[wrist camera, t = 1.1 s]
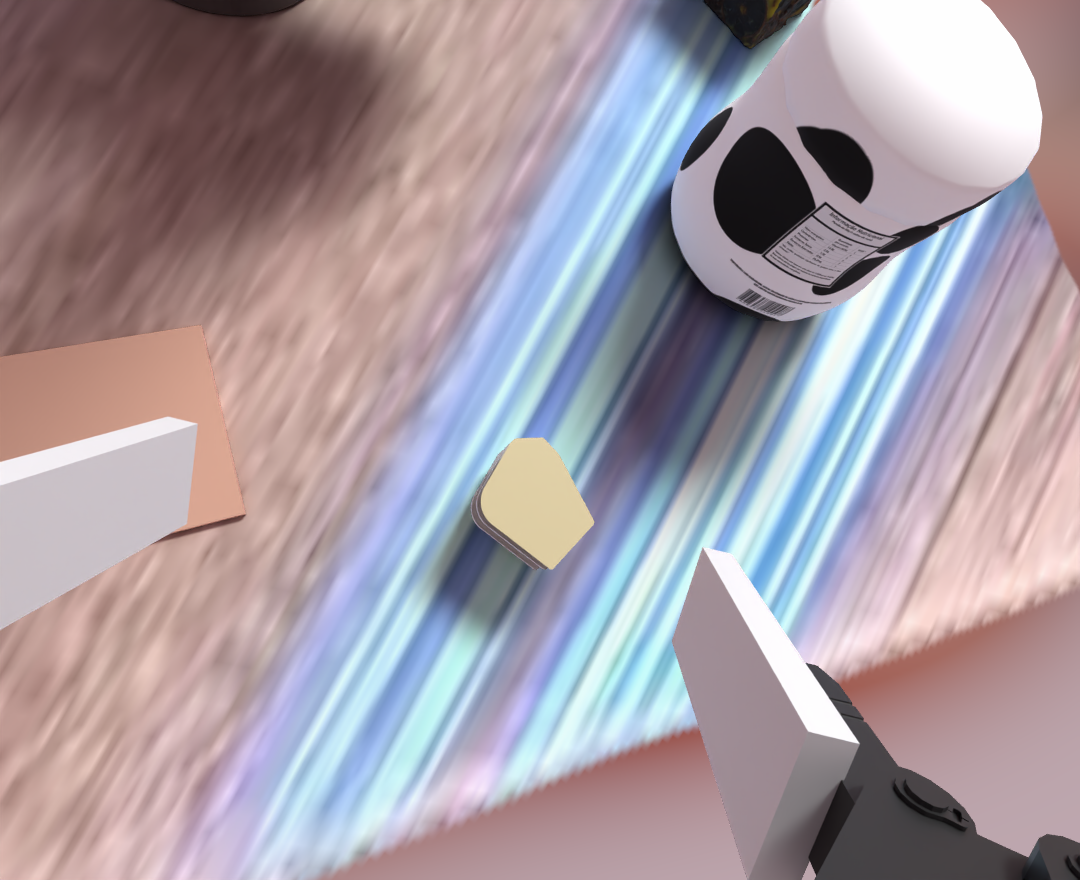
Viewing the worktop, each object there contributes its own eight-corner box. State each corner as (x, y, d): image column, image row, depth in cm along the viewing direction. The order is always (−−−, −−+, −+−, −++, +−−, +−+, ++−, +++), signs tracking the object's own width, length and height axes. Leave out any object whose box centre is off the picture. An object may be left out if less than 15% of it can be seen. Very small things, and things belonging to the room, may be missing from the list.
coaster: (-38, 365, 32) (-42, 363, 32) (202, 327, 36) (200, 324, 36) (0, 578, 31) (-5, 578, 30) (246, 514, 35) (244, 513, 34)
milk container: (781, 136, 53) (970, -66, 37) (862, 306, 52) (1101, 176, 35) (621, 168, 48) (759, -54, 31) (707, 360, 46) (903, 236, 29)
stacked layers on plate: (607, 516, 41) (641, 507, 36) (520, 612, 38) (544, 618, 33) (509, 413, 41) (530, 389, 36) (413, 501, 38) (420, 490, 33)
